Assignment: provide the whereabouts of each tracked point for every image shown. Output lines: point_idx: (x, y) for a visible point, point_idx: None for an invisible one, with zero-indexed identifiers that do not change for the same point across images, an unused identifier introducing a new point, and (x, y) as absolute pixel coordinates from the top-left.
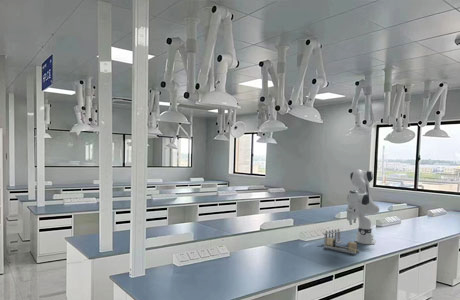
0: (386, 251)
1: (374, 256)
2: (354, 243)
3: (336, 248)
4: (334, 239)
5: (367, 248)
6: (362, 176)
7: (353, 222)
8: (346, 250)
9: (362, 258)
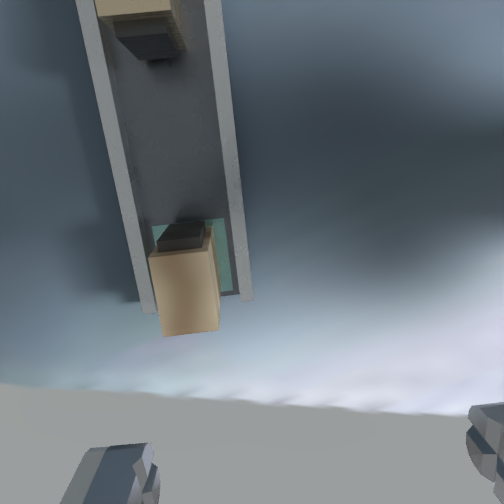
0: (466, 396)
1: (258, 399)
2: (168, 325)
3: (103, 120)
4: (162, 15)
5: (449, 273)
6: None
7: (478, 414)
8: (127, 233)
9: (125, 371)
